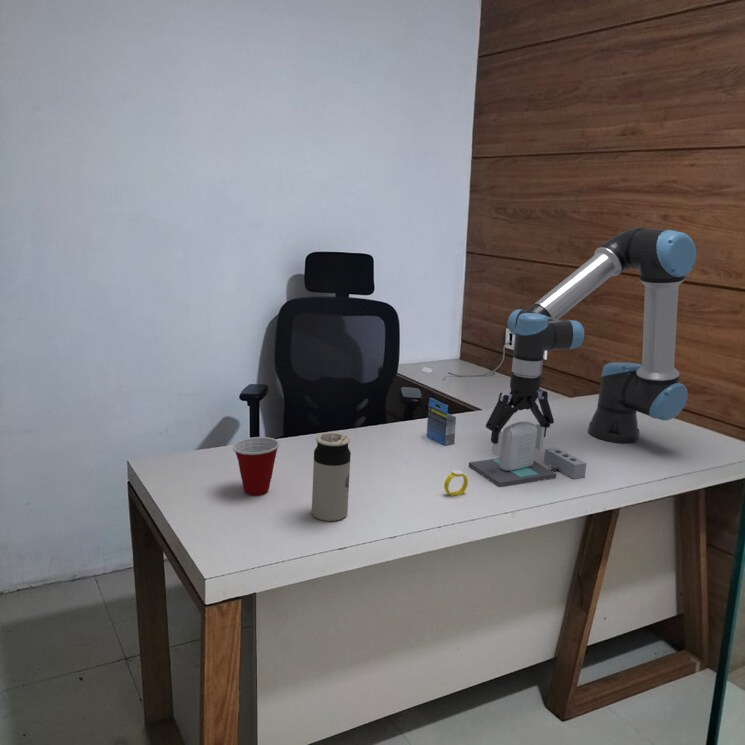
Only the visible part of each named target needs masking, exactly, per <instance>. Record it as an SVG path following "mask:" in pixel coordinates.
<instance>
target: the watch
mask: <svg viewBox="0 0 745 745" xmlns="http://www.w3.org/2000/svg"><path fill="white" fill-rule="evenodd" d="M455 477H459V478H460V477H462V478H463V484H462V486H461V488H460V489H459V490H458V491H457V490H456V491H452V492H450V489H449V486H450V482H451V481H452V479H454V478H455ZM468 481H469V479H468V477H467V476H466V475H465V473H464V472H463V471H462V470H459V469H453V470H451V473H450V474H448V475H447V477H446V479H445V480H444V486H443V487H444V491H445V493H447V494H448V495H449V496H451V497H453V496H454V497H455V496H460V495H462V494H463V493H464V492H465V491H466V490H467V488H468V485H469V482H468Z"/></svg>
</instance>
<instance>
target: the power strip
mask: <svg viewBox="0 0 745 745" xmlns="http://www.w3.org/2000/svg"><path fill="white" fill-rule="evenodd" d="M544 462H545V463H547V464H549V465H551V466H552V467H554V468H552V467H551V466H550V467H551V468H548V469H549V470H551V471H553V472H559V471H561V472H563V473H564V474H563V473H562V474H563V475H565V474H566V475H568V476H569V477H568V476H567V477H568V478H570V477H571V479H572V478H577V479H581V478H580V477H583V478H585V477H586V470H587V462H585V461H583V460H581V459H580V458H578V457H575V455H572V454H571V453H568V452H566V451H564V450H562V449H560V448H559V447H550V448H545V449H544V456H543V463H544ZM545 463H544V464H545ZM547 464H546V465H547ZM549 465H548V466H549ZM557 470H559V471H557ZM561 472H560V473H561ZM566 475H565V476H566Z"/></svg>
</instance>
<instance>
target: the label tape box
mask: <svg viewBox="0 0 745 745" xmlns="http://www.w3.org/2000/svg"><path fill="white" fill-rule="evenodd" d="M428 400H429V401H428V406H427V409H428V411H427V424H426V437H427V438H429V439H431V440H433V441H435V442H437V443H439V444H441V445H444V446H450V445H453V444H455V440H456V424H457V422H456V421H457V416H455V415H452V413H451V414H450V413H448V410H449V405H447V404H445V403H443V402H440V401H439V400H437V399H435V398H432V397H429V399H428ZM436 405H438V406H439V407H438V406H436Z"/></svg>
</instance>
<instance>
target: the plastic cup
mask: <svg viewBox="0 0 745 745" xmlns="http://www.w3.org/2000/svg"><path fill="white" fill-rule="evenodd" d="M279 447H280V442H279V441H278V440H277V439H276V438H272V437H267V436H254V437H248V438H243V439H241V440H237V441H236V442H235V443H234V444H233V445H232V450H233V451H234V453H235V455H236V458H237V462H238V466H239V468H238V469H239V473H240V478H241V483H242V488H243V493H245V494H246V495H248V496H253V497H255V496H258V497H259V496H264V495H266V494H267V493H268V492H269V490H270V486H271V481H272V479H273V478H272V477H273V471H274V466H275V462H276V460H275V459H276V457H277V452H278V448H279Z"/></svg>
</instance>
